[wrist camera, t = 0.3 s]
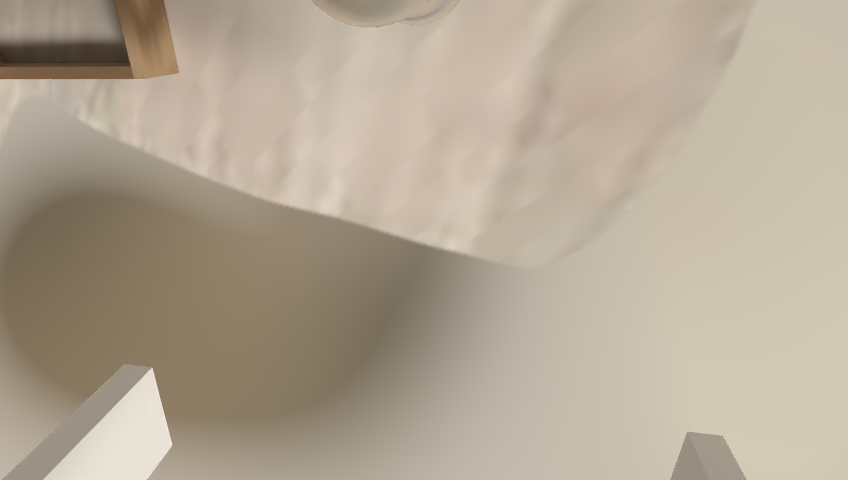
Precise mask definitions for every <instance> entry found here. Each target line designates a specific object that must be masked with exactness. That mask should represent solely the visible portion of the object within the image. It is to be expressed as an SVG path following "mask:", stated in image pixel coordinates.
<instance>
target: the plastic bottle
mask: <svg viewBox="0 0 848 480" xmlns="http://www.w3.org/2000/svg"><path fill="white" fill-rule="evenodd" d="M312 1H313V2H314V3H315V4H316V5H317V6H318V7H319V8H320V9H321V10H323V11H324V12H326V13H327V14H329V15H330V16H331V17H333V18H335V19H337V20H340V21H342V22H344V23H347V24H350V25H355V26H360V27H381V26H385V25H390V24H394V23H396V22H400V23H404V24H409V25H423V24H428V23H432V22H434V21H436V20H439V19H441V18H442V17H444V16H445V15H446V14H448V13H449V12H450V11H451V10H452V9H453V8H454V7H455V6H456V5H457V4H458V2H459V0H312Z"/></svg>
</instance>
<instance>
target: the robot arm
mask: <svg viewBox="0 0 848 480" xmlns="http://www.w3.org/2000/svg"><path fill="white" fill-rule="evenodd" d="M171 447H172V442H171V439H170V435H169V431H168V427H167V423H166V419H165V415H164V412H163V408H162V404H161V400H160V396H159V392H158V388H157V385H156V380H155V377H154V373H153V369H152V367H144V366H135V365H127V364H124V365H123V366H122V367H121V368H120V369H119V370H118V371H117V372H116V373H115V374H114V375H113V376H112V377H111V378H109V379H108V380H107V381H106V382H105V383H104V384H103V385H102V386H101V387H100V388H99V389H98V390H97V391H96V392H95V393H94V394H92V395H91V396H90V397H89V398H88V399H87V400H86V401H85V402H84V403H83V404H82V405H81V406H80V407H79V408H78V409H77V410H76V411H74V412H73V413H72V414H71V415H70V416H69V417H68V418H67V419H66V420H65V421H64V422H63V423H62V424H61V425H60V426H59V427H58V428H57V429H55V430H54V431H53V432H52V433H51V434H50V435H49V436H48V437H47V438H46V439H45V440H44V441H43V442H42V443H41V444H39V445H38V446H37V447H36V448H35V449H34V450H33V451H32V452H31V453H30V454H29V455H28V456H27V457H26V458H25V459H24V460H22V462H21V463H20V464H18V465H17V466H16V467H15V468H14V469H13V470H12V471H11V472H10V473H9V474H8V475H7V476H5V477H4V478H3V479H2V480H147V479H148V477H149V476H150V475H151V473H152V472H153V470H154V469H155V468H156V467H157V465H158V464H159V463H160V461H161V460H162V459H163V457H164V456H165V454H166V453H167V452H168V450H169V449H170V448H171ZM671 480H746V478H745V476H744V474H743V472H742V471H741V469H740V467H739V465H738V463H737V461H736V459H735V458H734V456H733V454H732V452H731V450H730V449H729V447H728V445H727V443H726V441H725V439H724V437H723V436H719V435H710V434H702V433H694V432H687V434H686V437H685V440H684V443H683V446H682V448H681V451H680V454H679V457H678V460H677V463H676V466H675V468H674V471H673V474H672V477H671Z"/></svg>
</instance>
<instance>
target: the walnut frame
mask: <svg viewBox="0 0 848 480" xmlns="http://www.w3.org/2000/svg"><path fill="white" fill-rule="evenodd" d="M114 1H115V5H116V9H117V13H118V17H119V21H120V25H121V29H122V33H123V37H124V41H125V45H126V49H127V53H128V57H129V60H130V62H41V63H3V60H2V57H1V55H0V79H146V78H152V77H157V76H163V75H169V74H174V73H179V71H178V66H177V62H176V57H175V52H174V48H173V43H172V38H171V34H170V29H169V24H168V20H167V15H166V10H165V6H164V1H163V0H114Z"/></svg>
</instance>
